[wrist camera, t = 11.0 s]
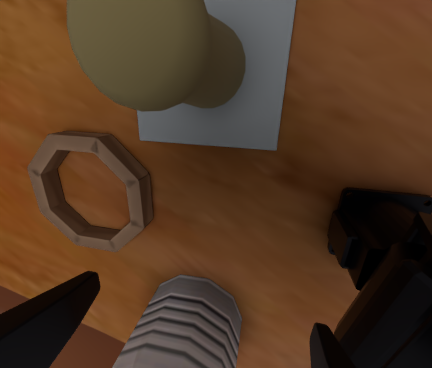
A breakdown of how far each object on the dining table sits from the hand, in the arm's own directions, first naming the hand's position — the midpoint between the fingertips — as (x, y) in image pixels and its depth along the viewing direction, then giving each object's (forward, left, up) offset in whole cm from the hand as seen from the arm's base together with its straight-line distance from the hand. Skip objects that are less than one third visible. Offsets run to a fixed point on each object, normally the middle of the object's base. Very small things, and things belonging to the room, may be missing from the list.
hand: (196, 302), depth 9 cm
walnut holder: (+15, +2, -13) cm, 20 cm away
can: (+4, +17, -13) cm, 22 cm away
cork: (+3, -10, -12) cm, 16 cm away
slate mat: (+3, -10, -13) cm, 16 cm away
